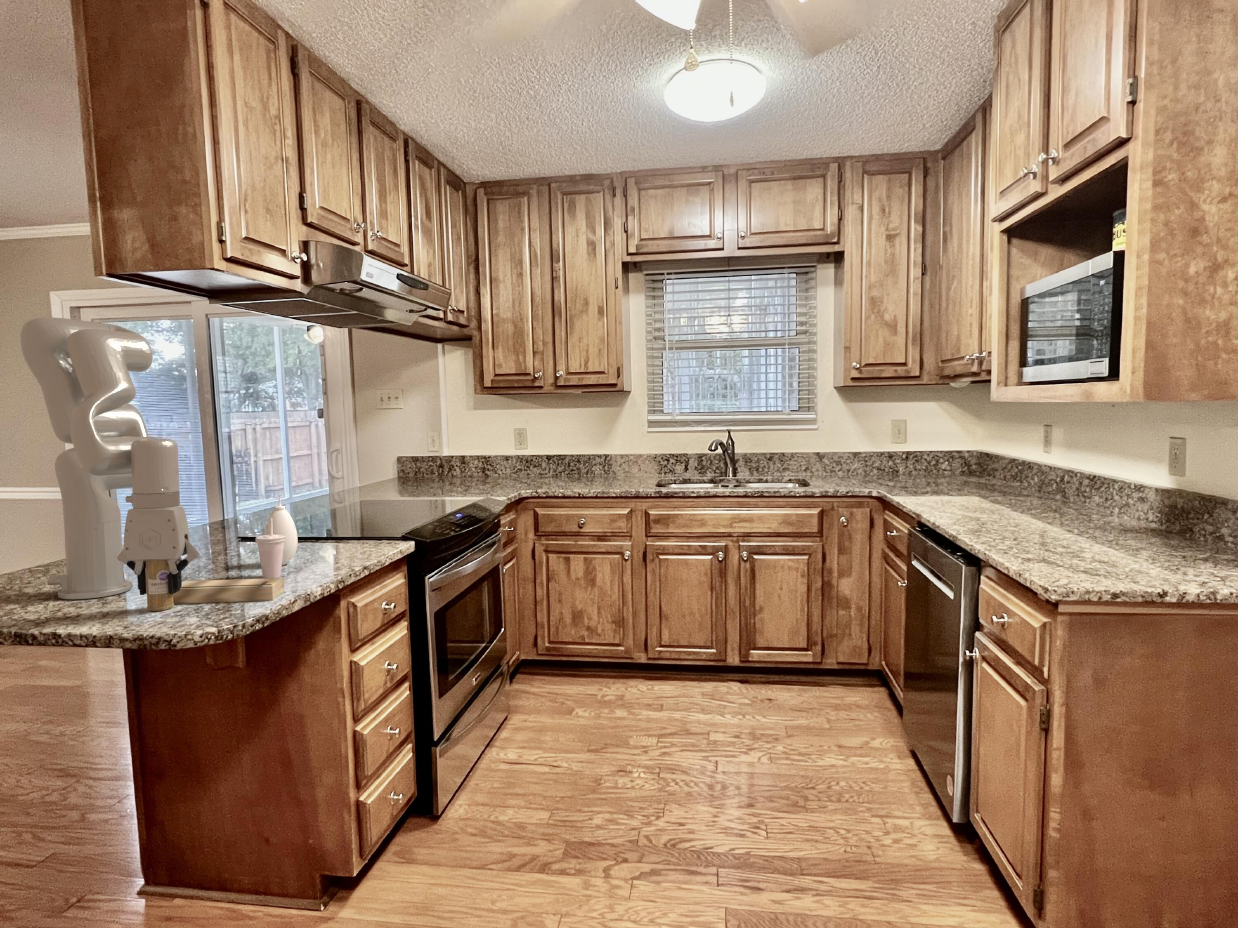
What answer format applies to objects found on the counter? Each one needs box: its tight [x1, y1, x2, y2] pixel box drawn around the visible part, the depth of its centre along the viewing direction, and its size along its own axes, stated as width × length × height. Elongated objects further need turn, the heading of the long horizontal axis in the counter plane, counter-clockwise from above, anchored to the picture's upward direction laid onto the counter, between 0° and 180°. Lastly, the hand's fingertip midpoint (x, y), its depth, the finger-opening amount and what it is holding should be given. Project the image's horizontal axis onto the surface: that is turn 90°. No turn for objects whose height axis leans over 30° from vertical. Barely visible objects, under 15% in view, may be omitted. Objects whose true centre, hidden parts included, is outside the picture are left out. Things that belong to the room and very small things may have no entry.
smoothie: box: [255, 518, 286, 579], centre depth 155 cm, size 6×6×14 cm
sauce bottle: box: [263, 496, 299, 566], centre depth 167 cm, size 8×8×18 cm
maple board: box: [173, 577, 285, 605], centre depth 137 cm, size 20×7×3 cm, turn 100°
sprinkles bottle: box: [145, 560, 175, 612], centre depth 128 cm, size 5×5×14 cm
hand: (160, 591), depth 128 cm, fingers closed on sprinkles bottle, 4 cm apart
